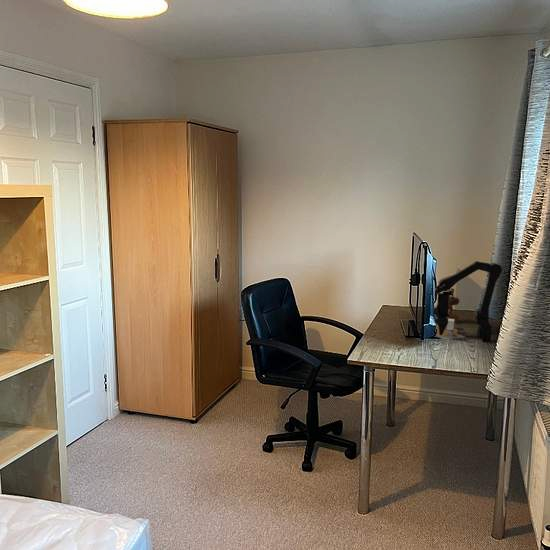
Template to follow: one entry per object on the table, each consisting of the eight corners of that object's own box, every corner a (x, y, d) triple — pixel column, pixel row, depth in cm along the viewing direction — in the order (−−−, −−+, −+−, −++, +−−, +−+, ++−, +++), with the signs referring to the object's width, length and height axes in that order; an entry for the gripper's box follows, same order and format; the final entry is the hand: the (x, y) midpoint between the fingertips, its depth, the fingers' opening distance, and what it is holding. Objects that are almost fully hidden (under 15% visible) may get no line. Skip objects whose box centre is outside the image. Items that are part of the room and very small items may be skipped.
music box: (458, 325, 316) (457, 290, 313) (438, 324, 320) (437, 289, 318) (460, 319, 330) (460, 286, 327) (441, 319, 334) (440, 286, 332)
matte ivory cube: (453, 329, 304) (454, 319, 303) (453, 332, 299) (454, 321, 298) (443, 328, 306) (444, 318, 305) (442, 331, 301) (443, 320, 300)
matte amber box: (446, 333, 290) (447, 322, 289) (446, 336, 285) (447, 324, 284) (435, 332, 292) (436, 321, 291) (435, 335, 287) (436, 323, 286)
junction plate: (466, 339, 284) (466, 330, 284) (444, 341, 279) (444, 332, 278) (447, 332, 297) (448, 324, 296) (426, 334, 291) (426, 326, 291)
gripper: (428, 298, 297) (426, 327, 299) (425, 305, 280) (423, 335, 282) (449, 300, 294) (447, 329, 296) (449, 307, 276) (446, 337, 278)
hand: (441, 333), depth 288 cm, fingers open, 8 cm apart
